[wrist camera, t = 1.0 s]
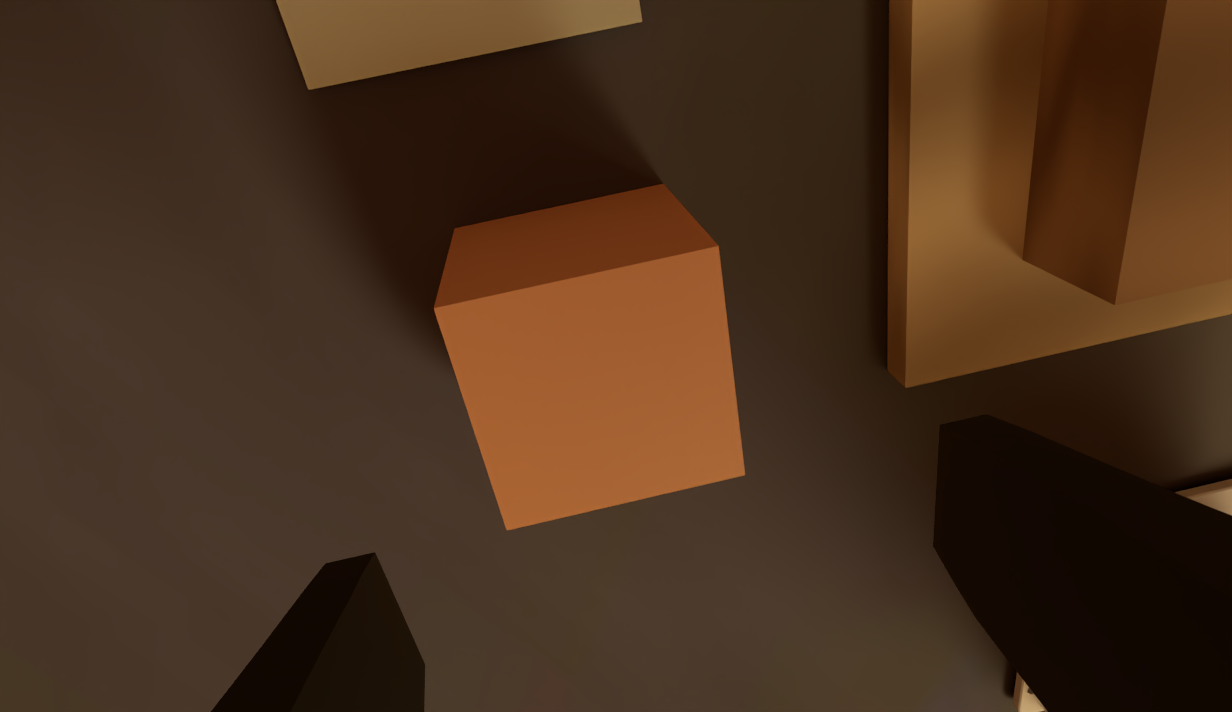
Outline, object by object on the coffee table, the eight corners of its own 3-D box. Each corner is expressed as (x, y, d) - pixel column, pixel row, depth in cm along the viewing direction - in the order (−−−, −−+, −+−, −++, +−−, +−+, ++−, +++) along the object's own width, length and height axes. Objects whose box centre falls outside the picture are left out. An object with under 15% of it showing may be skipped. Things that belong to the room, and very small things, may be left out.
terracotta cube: (689, 365, 19) (745, 474, 14) (507, 406, 19) (506, 530, 14) (662, 182, 16) (718, 246, 12) (454, 227, 16) (433, 308, 12)
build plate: (1353, 265, 20) (1392, 276, 19) (887, 370, 19) (905, 388, 19) (1577, -400, 14) (1650, -429, 13) (890, -269, 13) (918, -290, 12)
